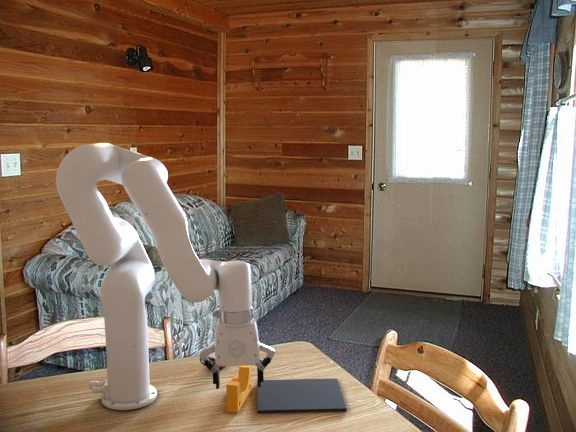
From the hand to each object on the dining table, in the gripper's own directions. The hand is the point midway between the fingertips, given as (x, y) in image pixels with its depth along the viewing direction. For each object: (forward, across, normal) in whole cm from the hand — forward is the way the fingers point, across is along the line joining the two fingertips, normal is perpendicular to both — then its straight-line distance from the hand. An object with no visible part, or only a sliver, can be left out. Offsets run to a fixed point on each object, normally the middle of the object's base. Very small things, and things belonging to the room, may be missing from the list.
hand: (238, 385), depth 144 cm
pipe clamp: (+4, -1, 0) cm, 4 cm away
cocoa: (+4, -6, +19) cm, 20 cm away
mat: (+4, +14, +1) cm, 15 cm away
